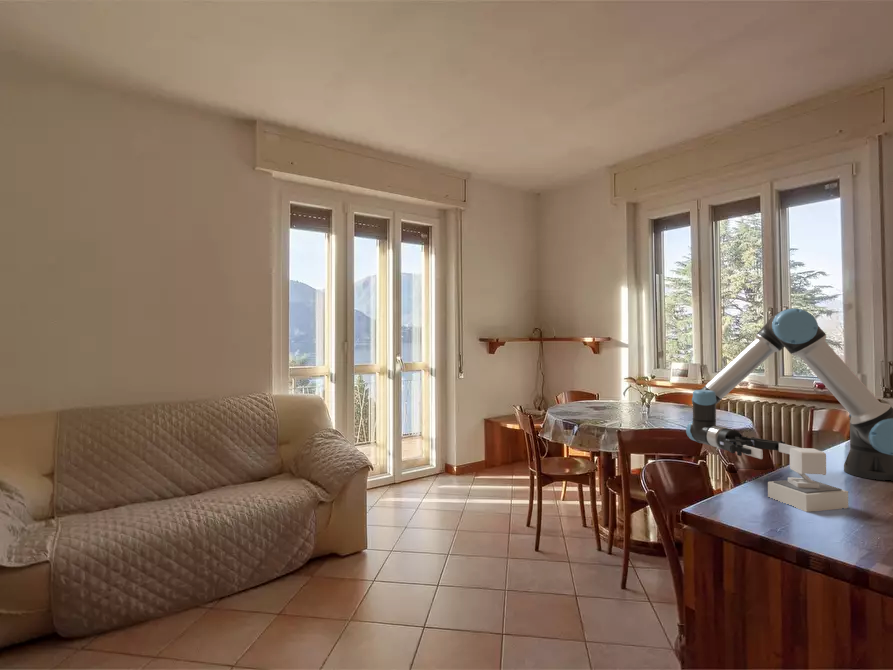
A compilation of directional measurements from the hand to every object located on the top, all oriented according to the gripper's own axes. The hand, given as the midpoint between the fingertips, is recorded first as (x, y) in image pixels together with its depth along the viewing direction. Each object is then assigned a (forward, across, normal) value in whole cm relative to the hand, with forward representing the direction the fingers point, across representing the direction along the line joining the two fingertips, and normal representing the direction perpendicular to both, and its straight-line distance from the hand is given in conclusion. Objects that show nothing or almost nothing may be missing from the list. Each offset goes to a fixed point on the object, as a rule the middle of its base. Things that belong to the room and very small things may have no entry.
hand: (780, 453), depth 143 cm
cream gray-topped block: (+8, 0, -12) cm, 15 cm away
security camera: (+8, 0, -7) cm, 11 cm away
